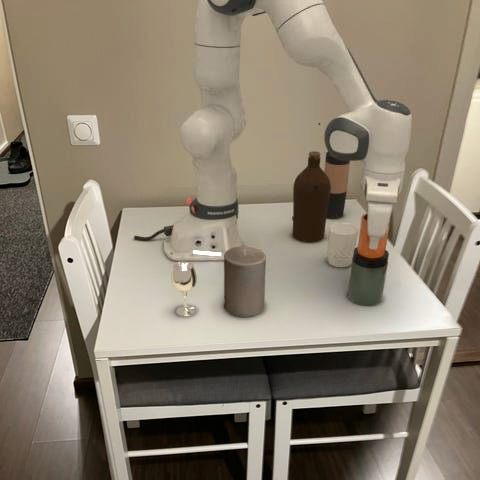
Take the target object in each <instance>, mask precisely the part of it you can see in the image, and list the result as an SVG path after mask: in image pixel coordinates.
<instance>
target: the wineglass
mask: <svg viewBox="0 0 480 480" xmlns="http://www.w3.org/2000/svg"><path fill="white" fill-rule="evenodd" d="M170 280H171V285H172V287H173V288H174V289H175V291H177V292H180V293H182V297H183V302H184V303H183V304H184V305H182V306H179V307H177V308H176V311H175V312H176V314H177V315H179V316H181V317H190V316H192V315H194V314H195V313H196V308H195V307H193V306H191V305H188V304H187V298H188V293H189V292H191V291H193V290H194V289H195V287H196V286H197V281H198V278H197V271H196V268H195V266H194V263H193V262H191V261H176V262H175V263H173V265H172V269H171V276H170Z"/></svg>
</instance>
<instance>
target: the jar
mask: <svg viewBox="0 0 480 480" xmlns="http://www.w3.org/2000/svg"><path fill="white" fill-rule="evenodd" d="M388 265H389V261H388V262H387V264H386V265H385V266H382V267H378V268H369V267H364V266H361V265H359V264H357V263H355V262H354V260H353V258H352V264H351V265H350V272H349V280H348V288H347V298H348V300H349V301H350V302H352V303H354V304H356V305H360V306H366V307H367V306H368V307H371V306H376V305H379V304H380V303H381V302H382V301H383V295H384V289H385V284H386V278H387V271H388Z"/></svg>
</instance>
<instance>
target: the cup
mask: <svg viewBox="0 0 480 480" xmlns="http://www.w3.org/2000/svg"><path fill="white" fill-rule="evenodd" d="M367 216H368V212H367V213H365V214H364V213H363V214H362V215H361V218H360V227H359V232H358V240H357V241H358V242H357V247H358V249H357V252H358V253H359V254H360V255H361V256H364V257H367V258H379V257H382V256H384V254H385V249H386V250H387V242H388V237H389V231H390V224H391V219H390V220H389V224H388V228H387V231H386V234H385V236H384V237H383V238H380V239H379V242H378V247H377V249H370V248H369V243H370V236H368V233H367Z"/></svg>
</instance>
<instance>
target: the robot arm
mask: <svg viewBox="0 0 480 480" xmlns="http://www.w3.org/2000/svg"><path fill="white" fill-rule="evenodd" d="M263 14H267V15H268V17H269V18H270V21H271V23H272V25H273V27H274V28H273V29H274V30H275V32H276V35H277V38H278V40H279V42H280V44H281V46H282V48H283V50H284V51H285V53H286V54H287V55H288V57H289V58H290V59H291V61H293V62H295V64H298V65H300V66H303V67H306V68H310V69H313V70H315V71H318V72H320V73H321V74H323V75H325V76H326V77H327V78H328V79H329V80H330V81H331V82H332V84H333V85H334V87H335V89H336V91H337V93H338V94H339V96H340V98H341V100H342V102H343V104H344V106H345V108H346V109H347V112H346V113H343V114H341V115H338V116H336V117H335V118H333V119H332V120H330V121H329V122H328V124H327V125H326V127H325V130H324V136H323V138H324V145H325V148H326V151H327V152H329V153H330V154H331V155H332V156H333V157H334V158H336V159H338V160H343V161H350V162H353V161H354V162H357V161H360V162H362V172H361V179H360V188H361V190H362V192H363V194H364V197H365V201H366V204H367V205H366V206H367V213H368V216H367V233H368V236H370V243H369V248H370V249H377V247H378V242H379V239H380V238H383V237H384V236H385V234H386V231H387V228H388V224H389V220H390V221H391V216H392V212H393V208H394V204H396V203H398V199H399V195H400V193H401V192H402V190H403V183H404V177H405V172H406V156H407V154H408V152H409V149H410V142H411V137H412V136H411V135H412V125H413V124H412V121H413V120H412V112H411V110H410V108H409V107H408V106H406V105H405V104H404V103H401V102H399V101H396V100H390V99H379V100H378V99H377V98H376V97H375V96H374V94H373V92H372V90H371V88H370V86H369V85H368V82H367V80H366V79H365V77H364V75H363V72H362V71H361V69H360V67H359V65H358V64H357V61H356V59H355V58H354V56H353V54H352V52H351V51H350V49H349V48H348V46H347V45H346V43H345V41H344V40H343V38H342V37H341V36H340V33H338V30H337V28H336V27H335V25H334V23H333V21H332V19H331V16H330V15H329V12H328V10H327V7H326V5H325V3H324V1H323V0H198V2H197V7H196V12H195V17H194V18H195V20H194V28H193V29H194V30H193V31H194V32H193V78H194V81H195V83H197V86H198V88H199V92H200V96H201V97H200V98H201V103H202V104H201V108H199V109H197V110H196V111H194V112H192V113H190V115H189V116H188V117H187V119H186V120H184V123H183V124H182V126H181V128H180V131H179V132H180V133H179V136H180V137H179V138H180V142H181V144H182V147H183V148H184V149H185V151H186V152H187V153H188V154H189V155H190V159H191V162H192V165H193V170H194V175H195V177H194V178H195V195H196V198H194V199H193V198H192V197H187V198H186V199H185V203H186V204H187V206H188V207H189V212H188V213H187V214H185V215H184V216H183V217H182V218H180V219H179V220H178V221H176V222H175V223H174V224H171V225H167V226H163V228H162V229H159V230H158V231H156V232H155V233H153V234H152V235H150V236H139V235H133V239H134V240H139V241H151V240H153V239H155V238H156V237H158V236H159V235H161V234H163V235H165V237H167V238H166V239H165V240H164V241H163V252H164V254H165V256H166V257H167V258H168V259H170V260H172V261H176V262H180V261H188V262H191V261H192V262H195V261H196V262H197V261H224V254H225V252H226V251H227V250H229V249H231V248H234V247H239V246H243V242H242V240H241V236H240V230H239V224H238V219H239V212H240V211H239V207H240V205H239V199H238V198H237V196H238V195H237V184H238V183H237V181H238V180H237V178H238V175H237V169H236V168H235V167H234V166H233V163H232V160H231V154H230V146H231V144H232V143H233V142H235V141H236V140H238V139H239V138H240V137H241V135H242V134H243V133H244V130H245V128H246V127H247V122H248V117H247V112H246V110H245V108H244V106H243V100H242V93H241V86H240V85H241V84H240V64H241V44H242V43H241V40H242V39H241V38H242V35H241V34H242V25H243V23H244V20H245V19H246V18H247V17H248V16H252V17H256V16H259V15H263Z"/></svg>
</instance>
